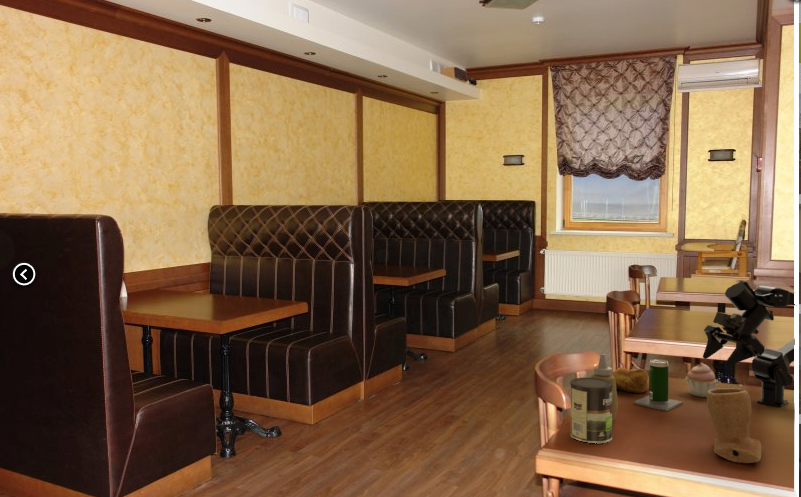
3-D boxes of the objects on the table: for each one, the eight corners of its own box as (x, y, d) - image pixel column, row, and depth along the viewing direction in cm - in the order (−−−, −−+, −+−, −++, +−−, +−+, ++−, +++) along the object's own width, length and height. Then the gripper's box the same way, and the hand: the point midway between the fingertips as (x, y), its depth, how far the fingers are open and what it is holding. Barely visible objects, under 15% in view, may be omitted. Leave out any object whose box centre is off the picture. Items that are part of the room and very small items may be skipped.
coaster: (649, 396, 200) (649, 394, 200) (682, 403, 193) (682, 401, 193) (633, 403, 193) (633, 401, 193) (666, 411, 186) (666, 409, 186)
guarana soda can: (656, 405, 190) (656, 364, 189) (645, 399, 195) (645, 360, 194) (672, 403, 191) (673, 362, 190) (660, 398, 196) (661, 358, 195)
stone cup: (708, 438, 164) (709, 379, 163) (762, 447, 158) (764, 385, 157) (701, 459, 151) (702, 395, 150) (760, 469, 145) (761, 402, 144)
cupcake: (681, 389, 207) (682, 358, 206) (713, 391, 205) (714, 359, 204) (688, 398, 198) (689, 365, 197) (722, 399, 196) (722, 366, 195)
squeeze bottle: (585, 422, 177) (585, 356, 176) (588, 413, 185) (589, 350, 184) (616, 425, 174) (617, 359, 173) (619, 416, 182) (619, 352, 181)
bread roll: (603, 390, 208) (603, 365, 208) (613, 383, 216) (613, 359, 215) (645, 396, 200) (645, 370, 200) (653, 389, 208) (654, 364, 208)
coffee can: (616, 434, 168) (617, 380, 167) (606, 447, 159) (606, 390, 159) (577, 427, 174) (577, 375, 173) (564, 439, 165) (564, 384, 164)
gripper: (709, 297, 196) (676, 336, 194) (756, 307, 178) (720, 350, 176) (732, 322, 198) (699, 361, 196) (780, 334, 180) (745, 376, 178)
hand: (714, 361), depth 187 cm, fingers open, 9 cm apart
